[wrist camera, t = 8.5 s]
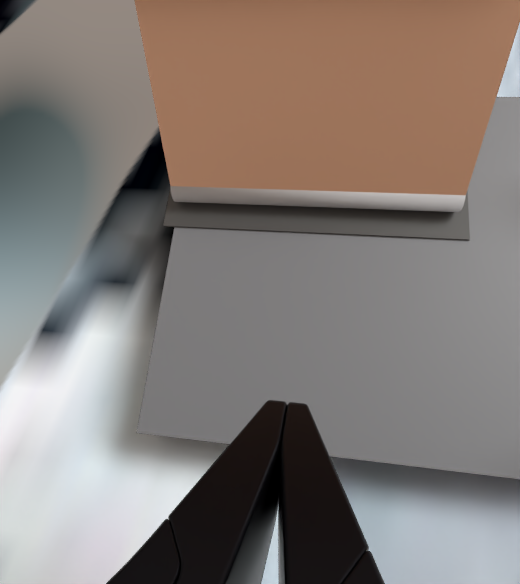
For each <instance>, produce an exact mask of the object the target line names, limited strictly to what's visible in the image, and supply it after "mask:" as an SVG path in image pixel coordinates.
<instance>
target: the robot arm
mask: <svg viewBox="0 0 520 584" xmlns="http://www.w3.org/2000/svg"><path fill="white" fill-rule="evenodd" d="M278 504H279V510H278ZM277 511H278V563H279V584H385V583H384V581H383V579H382V576H381V574H380V572H379V570H378V567H377V565H376V563H375V560H374V558H373V556H372V553H371V552H370V551H368V549H369V547H368V545H367V542H366V540H365V538H364V535H363V533H362V531H361V528H360V526H359V524H358V521H357V519H356V517H355V514H354V512H353V510H352V507H351V505H350V503H349V500H348V498H347V496H346V493H345V491H344V489H343V486H342V484H341V482H340V479H339V477H338V475H337V472H336V470H335V468H334V465H333V463H332V461H331V458H330V456H329V454H328V451H327V449H326V447H325V444H324V442H323V440H322V437H321V435H320V433H319V430H318V428H317V426H316V423H315V421H314V419H313V416H312V414H311V412H310V409H309V407H308V405H307V404H304V403H296V402H289V403H288V405H287V403H286V402H285V401H277V400H268V401H267V402H266V403H265V404H264V405H263V406H262V407H261V408H260V410H259V411H258V412H257V413H256V414H255V415H254V417H253V418H252V419H251V420H250V421H249V423H248V424H247V425H246V426H245V427H244V428H243V430H242V431H241V432H240V433H239V434H238V435H237V437H236V438H235V439H234V440H233V441H232V442H231V444H230V445H229V446H228V447H227V448H226V449H225V451H224V452H223V453H222V454H221V455H220V456H219V458H218V459H217V460H216V461H215V462H214V463H213V465H212V466H211V467H210V468H209V469H208V470H207V472H206V473H205V474H204V475H203V476H202V477H201V479H200V480H199V481H198V482H197V483H196V485H195V486H194V487H193V488H192V489H191V490H190V492H189V493H188V494H187V495H186V496H185V497H184V499H183V500H182V501H181V502H180V503H179V504H178V506H177V507H176V508H175V509H174V510H173V511H172V513H171V514H170V515H169V517H168V518H169V520H168V519H166V520H164V522H163V523H162V524H161V525H160V526H159V528H158V529H157V530H156V531H155V532H154V533H153V535H152V536H151V537H150V538H149V539H148V540H147V541H146V542H145V544H144V545H143V546H142V547H141V548H140V549H139V550H138V551H137V552H136V553H135V555H134V556H133V557H132V558H131V559H130V560H129V561H128V562H127V563H126V564H125V565H124V566H123V567H122V568H121V569H120V570H119V571H118V572H117V573H116V574H115V575H114V576H113V577H112V578H111V579H110V580H109V581H108V582H107V583H106V584H261V582H262V577H263V573H264V569H265V564H266V560H267V556H268V551H269V547H270V543H271V538H272V534H273V530H274V525H275V521H276V516H277Z"/></svg>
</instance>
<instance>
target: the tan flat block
mask: <svg viewBox="0 0 520 584" xmlns="http://www.w3.org/2000/svg"><path fill="white" fill-rule="evenodd" d="M135 5H136V10H137V15H138V20H139V26H140V31H141V36H142V41H143V46H144V51H145V56H146V61H147V67H148V72H149V77H150V82H151V87H152V92H153V98H154V103H155V108H156V113H157V118H158V124H159V129H160V134H161V139H162V144H163V149H164V155H165V160H166V165H167V170H168V175H169V180H170V185H171V195H172V198H173V200H174V201H175V202H194V203H221V204H249V205H276V206H303V207H330V208H357V209H385V210H412V211H439V212H460V211H461V210H462V208H463V205H464V202H465V197H466V193H467V190H468V186H469V183H470V180H471V177H472V174H473V170H474V167H475V164H476V161H477V157H478V154H479V151H480V148H481V145H482V141H483V138H484V135H485V132H486V128H487V125H488V122H489V119H490V116H491V112H492V109H493V106H494V103H495V100H496V96H497V93H498V90H499V87H500V83H501V80H502V77H503V74H504V71H505V67H506V64H507V61H508V58H509V54H510V51H511V48H512V45H513V42H514V38H515V35H516V32H517V29H518V25H519V22H520V0H135Z"/></svg>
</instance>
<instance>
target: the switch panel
mask: <svg viewBox="0 0 520 584" xmlns="http://www.w3.org/2000/svg"><path fill="white" fill-rule="evenodd" d="M163 226H164V227H174V232H173V238H172V243H171V249H170V254H169V259H168V265H167V270H166V276H165V281H164V287H163V292H162V297H161V303H160V308H159V314H158V319H157V325H156V330H155V335H154V341H153V346H152V352H151V357H150V363H149V368H148V373H147V379H146V384H145V390H144V395H143V401H142V406H141V411H140V417H139V422H138V428H137V433H142V434H150V435H158V436H166V437H175V438H183V439H191V440H199V441H208V442H216V443H224V444H231V442H232V441H233V440H234V439H235V438H236V437H237V435H238V434H239V433H240V432H241V431H242V430H243V428H244V427H245V426H246V425H247V424H248V423H249V421H250V420H251V419H252V418H253V417H254V415H255V414H256V413H257V412H258V411H259V410H260V408H261V407H262V406H263V405H264V404H265V403H266V402H267V401H268V400H277V401H285V402H286V403H287V405H288V403H289V402H296V403H304V404H307V405H308V407H309V409H310V412H311V414H312V416H313V419H314V421H315V423H316V426H317V428H318V430H319V433H320V435H321V437H322V440H323V442H324V444H325V447H326V449H327V451H328V454H329V456H332V457H340V458H348V459H356V460H365V461H373V462H381V463H390V464H398V465H406V466H414V467H423V468H431V469H439V470H447V471H456V472H464V473H472V474H480V475H489V476H497V477H505V478H513V479H520V97H496V100H495V103H494V106H493V109H492V112H491V116H490V119H489V122H488V125H487V128H486V132H485V135H484V138H483V141H482V145H481V148H480V151H479V154H478V157H477V161H476V164H475V167H474V170H473V174H472V177H471V180H470V183H469V186H468V190H467V193H466V197H465V202H464V205H463V208H462V210H461V211H460V212H439V211H412V210H385V209H357V208H330V207H303V206H276V205H249V204H221V203H194V202H175V201H174V200H173V198H172V195H171V187H170V192H169V198H168V203H167V208H166V213H165V218H164V223H163Z"/></svg>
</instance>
